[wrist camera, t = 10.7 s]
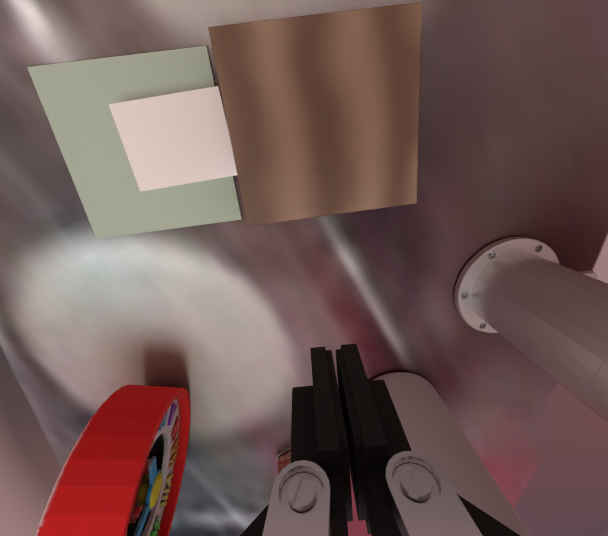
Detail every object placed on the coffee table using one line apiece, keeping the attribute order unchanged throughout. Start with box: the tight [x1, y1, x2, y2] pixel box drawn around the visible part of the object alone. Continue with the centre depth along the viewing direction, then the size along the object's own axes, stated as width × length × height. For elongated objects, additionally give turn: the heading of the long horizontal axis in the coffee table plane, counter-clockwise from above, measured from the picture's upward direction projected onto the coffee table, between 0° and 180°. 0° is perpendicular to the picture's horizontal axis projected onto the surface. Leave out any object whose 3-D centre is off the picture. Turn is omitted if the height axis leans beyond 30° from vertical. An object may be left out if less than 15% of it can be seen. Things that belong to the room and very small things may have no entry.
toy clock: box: [36, 385, 190, 536], centre depth 30 cm, size 20×6×20 cm, turn 172°
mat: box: [27, 46, 242, 239], centre depth 27 cm, size 15×15×1 cm
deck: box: [208, 2, 422, 226], centre depth 26 cm, size 16×15×4 cm
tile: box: [109, 86, 237, 192], centre depth 26 cm, size 9×7×2 cm
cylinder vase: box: [373, 372, 530, 536], centre depth 30 cm, size 12×12×25 cm
